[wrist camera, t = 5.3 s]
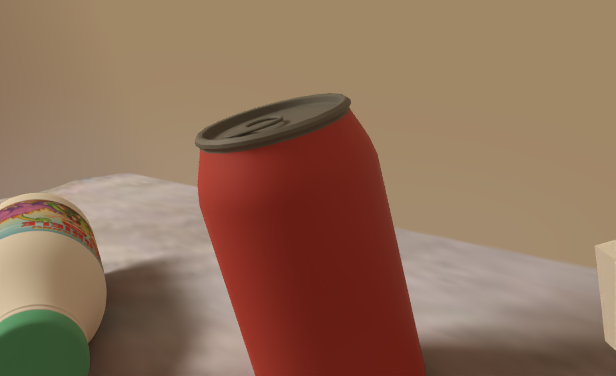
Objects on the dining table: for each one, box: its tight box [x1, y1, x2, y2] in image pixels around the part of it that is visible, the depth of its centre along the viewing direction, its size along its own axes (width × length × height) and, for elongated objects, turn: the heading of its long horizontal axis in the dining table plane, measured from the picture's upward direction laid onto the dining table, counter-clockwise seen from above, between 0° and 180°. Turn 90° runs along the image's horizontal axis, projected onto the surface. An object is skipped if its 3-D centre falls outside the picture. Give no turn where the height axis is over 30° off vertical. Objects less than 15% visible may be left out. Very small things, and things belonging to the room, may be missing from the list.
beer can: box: [195, 93, 425, 376], centre depth 22 cm, size 7×7×12 cm
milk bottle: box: [0, 193, 107, 376], centre depth 34 cm, size 8×8×20 cm
